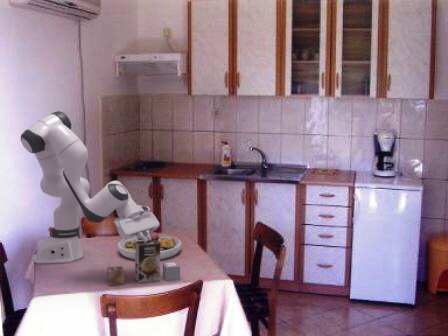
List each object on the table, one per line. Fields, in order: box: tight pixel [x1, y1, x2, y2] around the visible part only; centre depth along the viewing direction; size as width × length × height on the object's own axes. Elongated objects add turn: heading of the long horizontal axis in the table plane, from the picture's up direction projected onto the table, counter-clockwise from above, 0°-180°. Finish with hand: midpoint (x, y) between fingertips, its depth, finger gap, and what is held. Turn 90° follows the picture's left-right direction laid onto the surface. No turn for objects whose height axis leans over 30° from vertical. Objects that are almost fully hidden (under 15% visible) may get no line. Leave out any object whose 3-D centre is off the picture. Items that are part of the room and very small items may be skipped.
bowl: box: [117, 231, 182, 261], centre depth 278 cm, size 30×30×8 cm
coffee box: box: [134, 240, 161, 284], centre depth 240 cm, size 9×6×16 cm
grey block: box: [162, 261, 181, 282], centre depth 243 cm, size 6×6×6 cm
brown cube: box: [106, 265, 125, 287], centre depth 237 cm, size 6×6×6 cm
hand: (148, 241), depth 238 cm, fingers closed, pressing on coffee box
